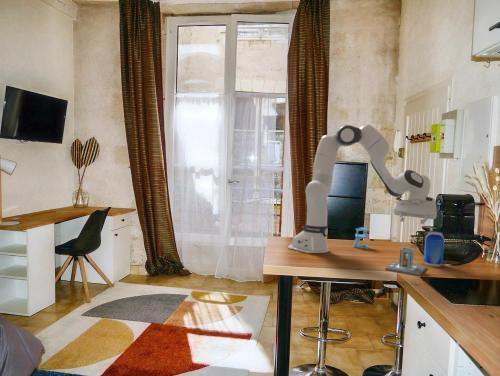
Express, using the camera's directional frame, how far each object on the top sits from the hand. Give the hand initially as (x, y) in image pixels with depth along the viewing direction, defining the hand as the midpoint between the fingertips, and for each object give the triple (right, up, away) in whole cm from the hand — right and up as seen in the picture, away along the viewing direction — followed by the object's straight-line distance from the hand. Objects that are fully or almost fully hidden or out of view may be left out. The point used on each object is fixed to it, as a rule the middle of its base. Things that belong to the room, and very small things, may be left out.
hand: (411, 222), depth 193 cm
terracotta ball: (-8, -18, -10) cm, 22 cm away
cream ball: (-6, -15, -10) cm, 19 cm away
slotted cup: (-7, -20, -10) cm, 23 cm away
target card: (-7, -21, -10) cm, 24 cm away
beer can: (+10, -21, 0) cm, 24 cm away
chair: (-16, -18, +35) cm, 42 cm away
